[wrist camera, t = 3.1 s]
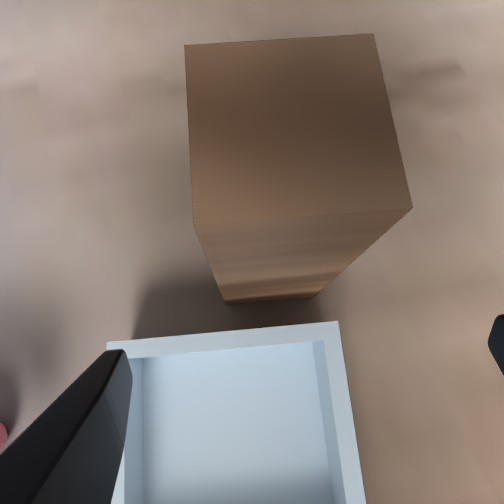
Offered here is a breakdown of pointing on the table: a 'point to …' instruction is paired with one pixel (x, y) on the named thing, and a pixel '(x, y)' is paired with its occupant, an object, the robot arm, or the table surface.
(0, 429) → the anatomy model
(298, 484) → the bin
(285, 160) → the walnut block
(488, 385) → the table surface
